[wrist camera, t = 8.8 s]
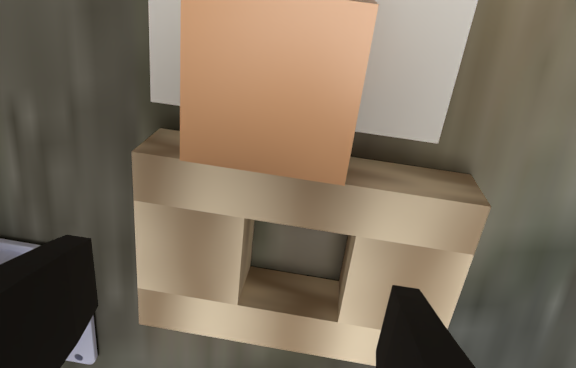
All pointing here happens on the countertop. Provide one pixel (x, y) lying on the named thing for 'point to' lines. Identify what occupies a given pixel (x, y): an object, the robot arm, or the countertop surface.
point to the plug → (273, 84)
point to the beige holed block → (307, 214)
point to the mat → (380, 70)
